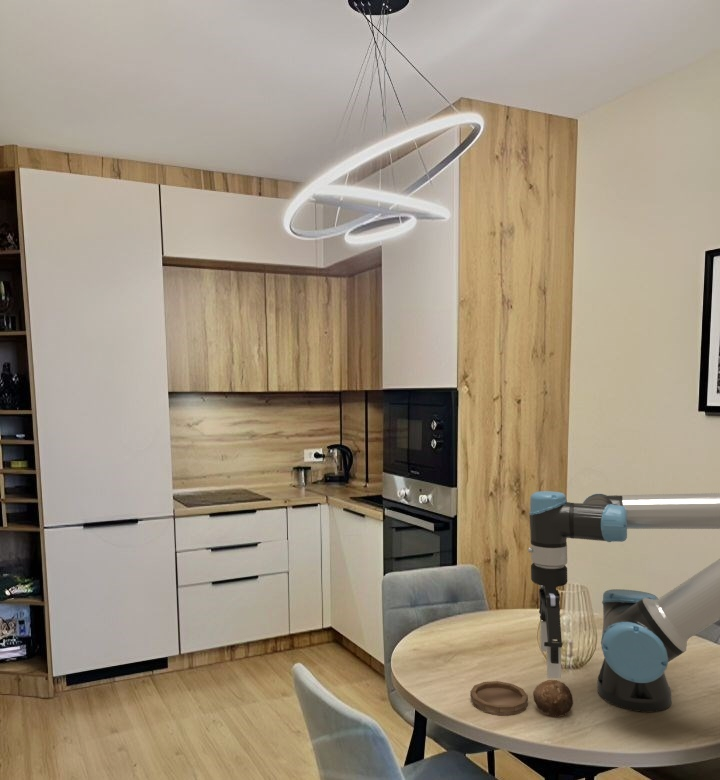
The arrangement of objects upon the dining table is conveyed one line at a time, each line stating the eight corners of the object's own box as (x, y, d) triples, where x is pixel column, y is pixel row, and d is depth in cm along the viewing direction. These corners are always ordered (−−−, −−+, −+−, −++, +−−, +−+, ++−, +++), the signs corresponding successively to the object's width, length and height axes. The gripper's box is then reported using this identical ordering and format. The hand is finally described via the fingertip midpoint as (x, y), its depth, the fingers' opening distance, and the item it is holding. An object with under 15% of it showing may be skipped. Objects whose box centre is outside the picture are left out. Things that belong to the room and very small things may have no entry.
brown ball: (544, 681, 135) (547, 666, 132) (577, 704, 131) (581, 689, 127) (525, 708, 131) (527, 693, 127) (559, 733, 126) (562, 718, 123)
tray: (538, 704, 131) (538, 696, 131) (500, 721, 125) (499, 712, 125) (497, 684, 141) (497, 676, 141) (460, 698, 135) (460, 690, 135)
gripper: (526, 550, 143) (528, 640, 142) (535, 579, 118) (537, 688, 118) (559, 551, 141) (561, 642, 140) (575, 581, 117) (577, 692, 116)
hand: (550, 663), depth 129 cm, fingers open, 13 cm apart
